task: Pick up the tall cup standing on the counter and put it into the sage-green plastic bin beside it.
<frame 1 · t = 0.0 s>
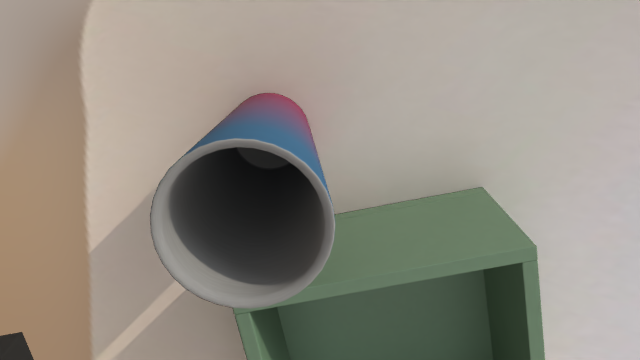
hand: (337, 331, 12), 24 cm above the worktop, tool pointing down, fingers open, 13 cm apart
bin: (382, 310, 39), on the worktop
cup: (269, 132, 35), on the worktop
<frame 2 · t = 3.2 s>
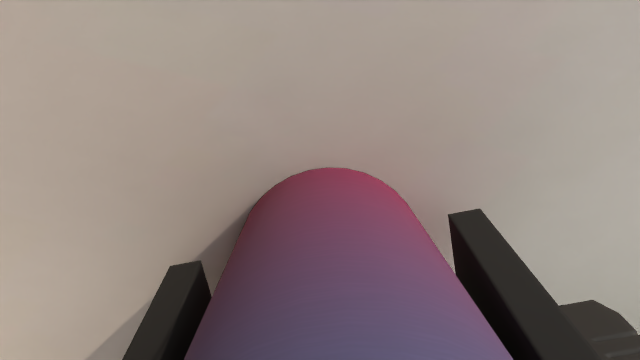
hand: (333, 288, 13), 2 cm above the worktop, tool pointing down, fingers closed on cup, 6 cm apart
cup: (330, 250, 15), on the worktop, touching gripper
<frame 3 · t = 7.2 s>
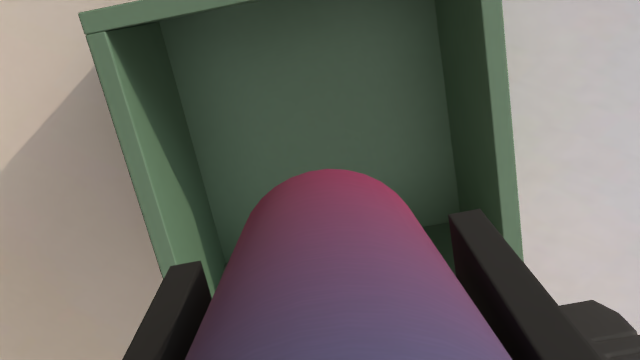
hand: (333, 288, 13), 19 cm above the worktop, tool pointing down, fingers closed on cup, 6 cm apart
bin: (319, 122, 31), on the worktop
cup: (330, 252, 15), point 17 cm above the worktop, touching gripper
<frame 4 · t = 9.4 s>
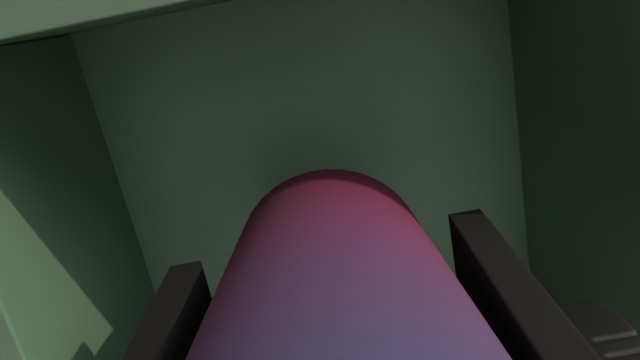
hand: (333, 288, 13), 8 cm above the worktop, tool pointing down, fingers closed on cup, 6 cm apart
bin: (323, 184, 21), on the worktop
cup: (330, 252, 15), point 6 cm above the worktop, touching gripper
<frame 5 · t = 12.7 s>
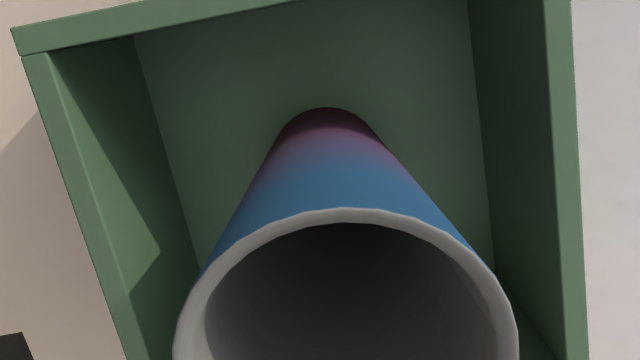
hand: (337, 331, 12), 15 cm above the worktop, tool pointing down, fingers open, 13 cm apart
bin: (326, 155, 26), on the worktop
cup: (326, 160, 25), point 1 cm above the worktop, touching bin
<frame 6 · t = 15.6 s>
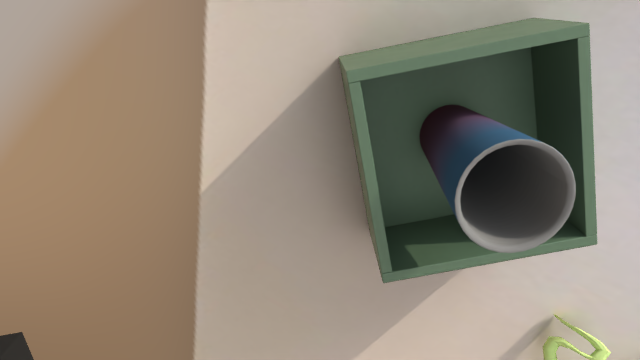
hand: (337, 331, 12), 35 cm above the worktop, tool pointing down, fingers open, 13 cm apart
bin: (447, 132, 46), on the worktop
cup: (449, 134, 45), point 1 cm above the worktop, touching bin
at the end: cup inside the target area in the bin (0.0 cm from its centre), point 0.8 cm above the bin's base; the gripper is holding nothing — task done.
